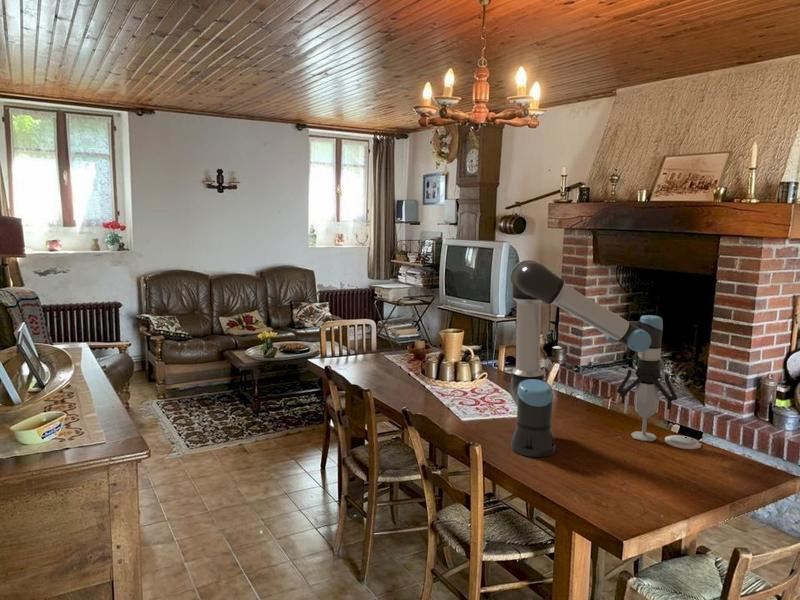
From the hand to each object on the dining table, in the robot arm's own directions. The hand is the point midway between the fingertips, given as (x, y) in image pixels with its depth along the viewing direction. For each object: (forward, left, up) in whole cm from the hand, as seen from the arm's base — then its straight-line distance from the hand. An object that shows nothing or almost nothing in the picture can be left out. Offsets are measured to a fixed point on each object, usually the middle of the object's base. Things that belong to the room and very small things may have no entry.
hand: (645, 414), depth 219 cm
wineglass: (0, 0, -9) cm, 9 cm away
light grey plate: (+10, -8, -9) cm, 16 cm away
